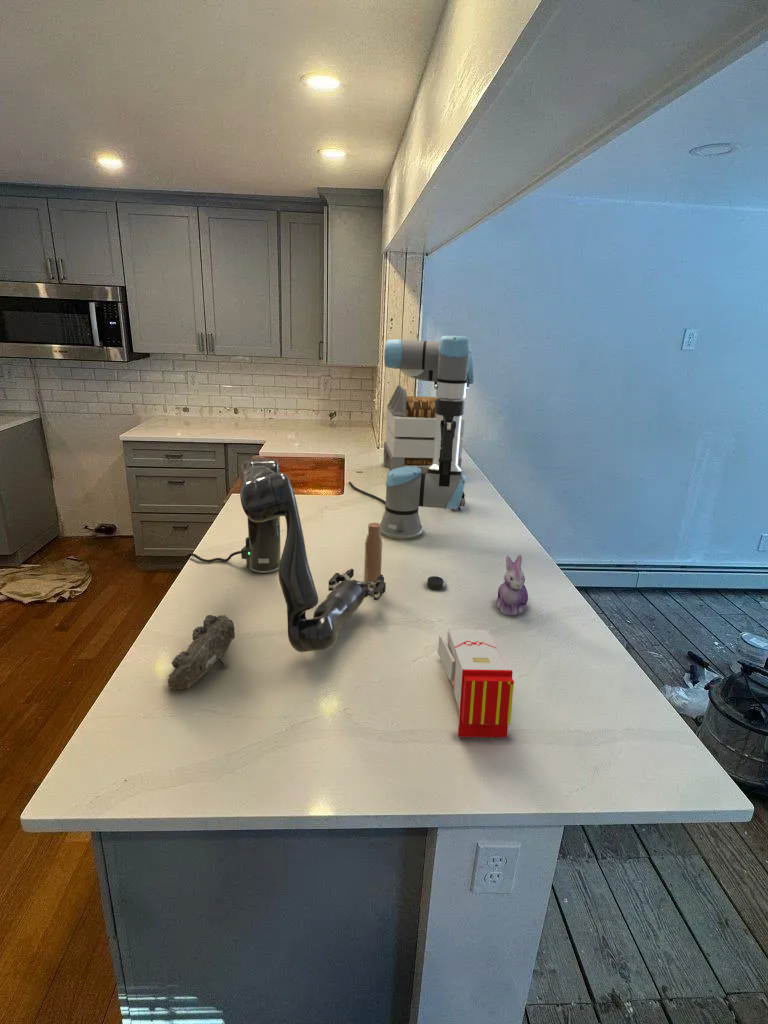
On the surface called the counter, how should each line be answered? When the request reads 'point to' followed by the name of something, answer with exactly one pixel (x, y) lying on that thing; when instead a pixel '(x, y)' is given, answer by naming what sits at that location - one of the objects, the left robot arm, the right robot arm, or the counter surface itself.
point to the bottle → (373, 553)
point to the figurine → (512, 589)
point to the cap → (435, 583)
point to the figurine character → (462, 501)
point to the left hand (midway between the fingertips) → (367, 574)
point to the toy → (478, 682)
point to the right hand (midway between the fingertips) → (443, 478)
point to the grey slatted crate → (411, 431)
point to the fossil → (202, 651)
